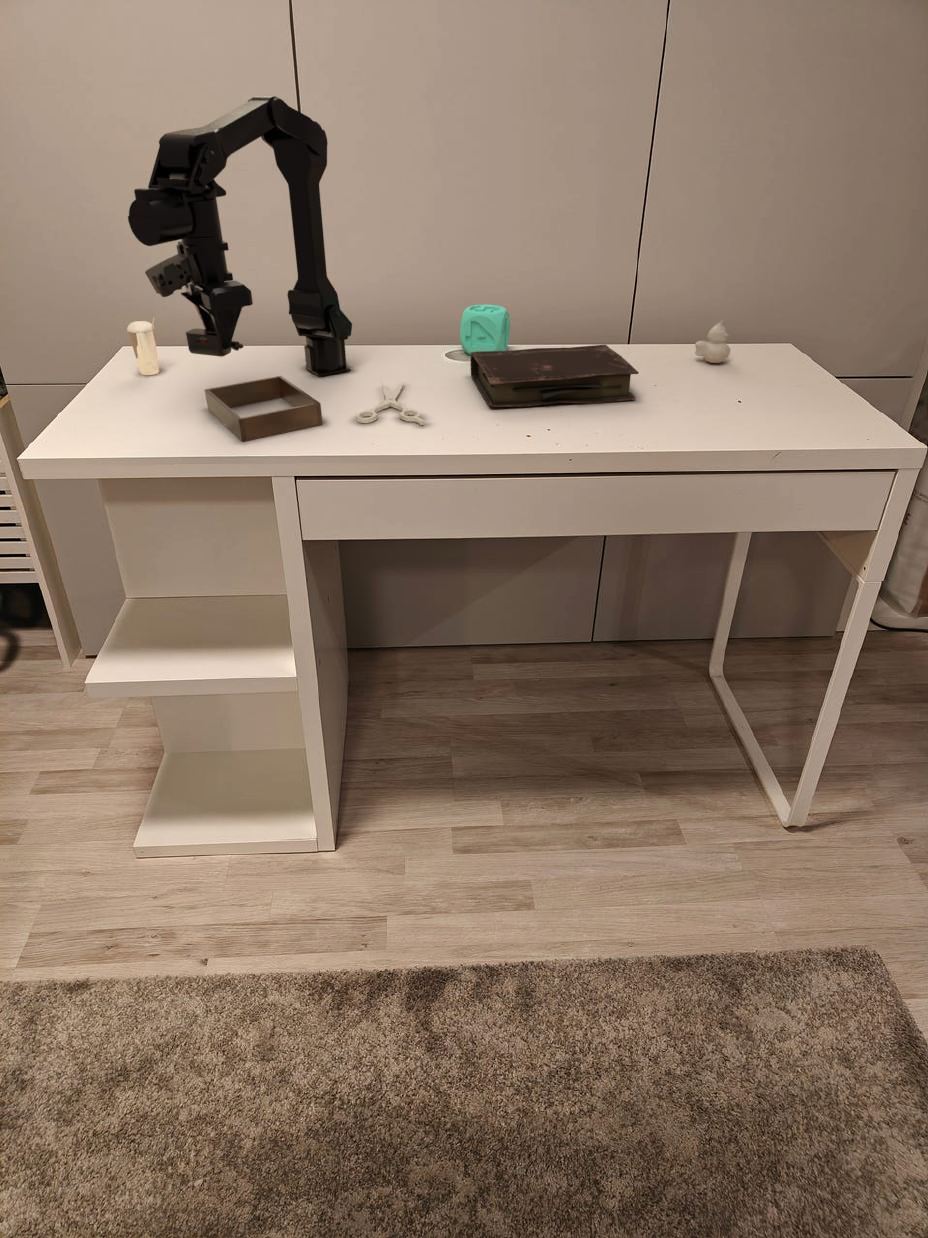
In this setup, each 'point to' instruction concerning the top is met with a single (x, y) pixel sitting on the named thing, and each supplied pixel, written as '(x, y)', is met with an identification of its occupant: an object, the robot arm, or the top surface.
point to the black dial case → (208, 343)
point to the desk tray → (266, 423)
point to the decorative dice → (485, 328)
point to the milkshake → (144, 346)
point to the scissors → (391, 402)
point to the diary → (552, 376)
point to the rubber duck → (714, 345)
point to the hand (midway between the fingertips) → (219, 345)
